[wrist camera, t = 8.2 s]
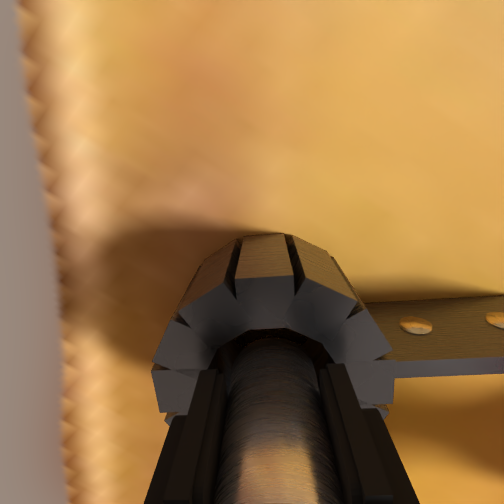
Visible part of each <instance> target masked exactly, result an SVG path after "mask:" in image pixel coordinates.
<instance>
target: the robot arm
mask: <svg viewBox="0 0 504 504" xmlns="http://www.w3.org/2000/svg"><path fill="white" fill-rule="evenodd" d="M320 397H321V402H322V406H323V410H324V415H325V419H326V424H327V428H328V433H329V437H330V441H331V446H332V450H333V455H334V459H335V464H336V468H337V472H338V477H339V481H340V486H341V490H342V495H343V499H344V503H345V504H420V503H419V501H418V498H417V496H416V494H415V491H414V489H413V487H412V485H411V482H410V480H409V478H408V475H407V473H406V471H405V469H404V466H403V464H402V462H401V459H400V457H399V455H398V453H397V450H396V448H395V446H394V443H393V441H392V439H391V437H390V434H389V432H388V430H387V427H386V425H385V423H384V421H383V418H382V416H381V414H380V412H379V410H378V409H377V408H362V409H361V407H360V404H359V401H358V399H357V396H356V393H355V391H354V388H353V385H352V383H351V380H350V377H349V375H348V372H347V369H346V367H345V364H344V363H338V364H326V369H320ZM227 403H228V394H227V386H226V379H225V374H224V373H223V374H219V370H218V369H206V370H200V372H199V376H198V379H197V383H196V386H195V390H194V393H193V397H192V400H191V404H190V407H189V411H188V414H187V415H175V416H174V417H173V419H172V422H171V424H170V427H169V430H168V433H167V436H166V439H165V442H164V445H163V448H162V451H161V454H160V457H159V460H158V463H157V466H156V469H155V472H154V475H153V478H152V481H151V484H150V487H149V490H148V492H147V495H146V498H145V501H144V504H213V501H214V494H215V487H216V480H217V473H218V466H219V459H220V452H221V445H222V438H223V431H224V424H225V417H226V410H227Z"/></svg>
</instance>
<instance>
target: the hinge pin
mask: <svg viewBox="0 0 504 504" xmlns="http://www.w3.org/2000/svg"><path fill="white" fill-rule="evenodd" d="M213 504H345V503H344V499H343V495H342V490H341V486H340V481H339V477H338V472H337V468H336V464H335V459H334V455H333V450H332V446H331V441H330V437H329V433H328V428H327V424H326V419H325V415H324V410H323V406H322V402H321V397H320V391H319V387H318V382H317V378H316V374H315V369H314V365H313V362H312V360H311V358H310V356H309V354H308V353H307V352H306V351H305V350H304V349H303V348H302V347H301V346H299V345H298V344H296V343H294V342H292V341H289V340H286V339H282V338H264V339H260V340H257V341H254V342H252V343H250V344H248V345H247V346H245V347H244V348H243V349H242V350H241V351H240V352H239V353H238V355H237V356H236V358H235V360H234V363H233V367H232V374H231V381H230V388H229V395H228V403H227V410H226V417H225V424H224V431H223V438H222V445H221V452H220V459H219V466H218V473H217V480H216V487H215V494H214V501H213Z"/></svg>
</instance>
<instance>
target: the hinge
mask: <svg viewBox="0 0 504 504" xmlns="http://www.w3.org/2000/svg"><path fill="white" fill-rule="evenodd" d="M273 328H289V329H291V330H293V331H296V332H298V333H300V334H302V335H305V336H307V337H308V339H307V341H306V342H305V343H304V344H302V345H300V346H301V347H302V348H303V349H304V350H305V351H306V352H307V353H308V354H309V356H310V358H311V360H312V362H313V365H314V369H315V374H316V378H317V382H318V387H319V391H320V369H326V364H338V363H344V364H345V367H346V369H347V372H348V375H349V377H350V380H351V383H352V385H353V388H354V391H355V393H356V396H357V399H358V401H359V404H360V407H361V409H362V408H377V409H378V410H379V412H380V414H381V416H382V418H383V420H384V419H385V417H386V416H387V415H388V413H389V411H388V409H387V406H386V404H393V393H394V378H412V377H435V376H458V375H481V374H504V295H502V296H484V297H467V298H449V299H432V300H414V301H396V302H379V303H363V302H362V301H361V299H360V298H359V296H358V294H357V293H356V291H355V290H354V288H353V287H352V285H351V284H350V282H349V280H348V279H347V277H346V276H345V274H344V273H343V271H342V270H341V268H340V267H339V265H338V264H337V262H336V260H335V259H334V257H332V258H331V257H330V255H329V254H328V252H327V251H325V250H323V249H321V248H319V247H317V246H314V245H312V244H310V243H308V242H306V241H304V240H302V239H300V238H298V237H295V236H293V235H292V236H291V238H290V240H289V242H288V243H287V245H286V241H285V237H284V233H281V234H267V235H253V236H244V239H243V243H242V246H241V245H240V243H239V242H238V241H237V239H235V240H234V241H232V242H231V243H229V244H228V245H226V246H225V247H223V248H222V249H220V250H219V251H217V252H216V253H214V254H213V255H211V256H210V257H208V258H207V259H205V261H204V262H203V264H202V266H199V268H198V270H197V272H196V274H195V276H194V277H193V279H192V281H191V283H190V285H189V287H188V288H187V290H186V292H185V294H184V296H183V298H182V299H181V301H180V303H179V305H178V307H177V309H176V311H175V312H174V314H173V316H172V318H171V320H170V322H169V324H168V327H167V329H166V331H165V333H164V336H163V338H162V340H161V342H160V345H159V347H158V349H157V351H156V354H155V356H154V358H153V360H152V362H154V363H155V364H154V366H153V368H152V370H151V373H152V378H153V383H154V387H155V392H156V397H157V401H158V406H159V411H160V413H164V412H167V415H166V417H165V420H164V421H165V422H166V423H167V424H168V425H169V426H170V424H171V422H172V419H173V417H174V416H175V415H187V414H188V411H189V407H190V404H191V400H192V397H193V393H194V390H195V386H196V383H197V379H198V376H199V372H200V370H206V369H218V370H219V374H223V373H224V374H225V379H226V386H227V394H228V395H229V388H230V381H231V374H232V367H233V363H234V360H235V358H236V356H237V355H238V353H239V352H240V351H241V350H242V349H243V348H242V347H240V346H238V344H237V343H236V342H235V341H234V338H236V337H237V336H239V335H241V334H242V333H244V332H246V331H248V330H254V329H273Z"/></svg>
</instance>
